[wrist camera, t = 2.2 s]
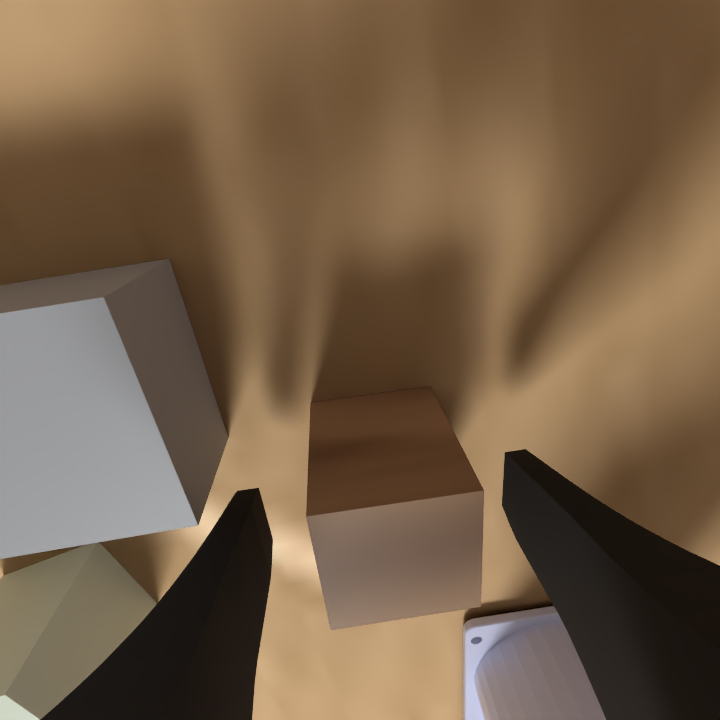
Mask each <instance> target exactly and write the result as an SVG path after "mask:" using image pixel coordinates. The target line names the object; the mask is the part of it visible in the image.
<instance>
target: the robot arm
mask: <svg viewBox="0 0 720 720" xmlns="http://www.w3.org/2000/svg"><path fill="white" fill-rule="evenodd" d="M502 506H503V509H504V511H505V514H506V516H507V519H508V521H509V524H510V526H511V528H512V531H513V533H514V535H515V538H516V539H517V541H518V543H519V545H520V547H521V549H522V550H523V552H524V554H525V556H526V558H527V559H528V561H529V563H530V565H531V566H532V568H533V570H534V572H535V574H536V575H537V577H538V579H539V581H540V582H541V584H542V586H543V588H544V589H545V591H546V593H547V595H548V597H549V598H550V600H551V602H552V604H553V605H554V606H550V607H543V608H537V609H531V610H524V611H518V612H511V613H505V614H499V615H492V616H486V617H480V618H473V619H470V620H468V621H467V622H466V623H465V624H464V626H463V720H720V566H719V565H717V564H715V563H712V562H710V561H708V560H706V559H704V558H702V557H700V556H697V555H695V554H693V553H691V552H689V551H687V550H685V549H683V548H681V547H679V546H677V545H675V544H673V543H671V542H669V541H667V540H665V539H663V538H662V537H660V536H658V535H656V534H654V533H652V532H650V531H649V530H647V529H645V528H643V527H641V526H640V525H638V524H636V523H634V522H633V521H631V520H629V519H627V518H626V517H624V516H623V515H621V514H619V513H618V512H616V511H614V510H613V509H611V508H610V507H608V506H606V505H605V504H603V503H602V502H600V501H599V500H597V499H595V498H594V497H592V496H591V495H589V494H588V493H586V492H585V491H584V490H582V489H581V488H579V487H578V486H576V485H575V484H573V483H572V482H570V481H569V480H568V479H566V478H565V477H563V476H562V475H561V474H559V473H558V472H556V471H555V470H554V469H552V468H551V467H549V466H548V465H547V464H545V463H544V462H543V461H541V460H540V459H538V458H537V457H536V456H534V455H533V454H531V453H530V452H529V451H527V450H526V449H524V450H517V451H510V452H505V461H504V479H503V497H502ZM272 544H273V539H272V535H271V531H270V528H269V524H268V520H267V517H266V513H265V509H264V505H263V502H262V498H261V494H260V491H259V488H255V489H248V490H241V491H237V492H236V493H235V495H234V496H233V498H232V499H231V501H230V502H229V504H228V506H227V507H226V509H225V510H224V512H223V514H222V515H221V517H220V518H219V520H218V521H217V523H216V525H215V526H214V528H213V529H212V531H211V532H210V534H209V535H208V537H207V538H206V539H205V541H204V542H203V544H202V545H201V547H200V548H199V550H198V551H197V553H196V554H195V555H194V557H193V558H192V560H191V561H190V562H189V564H188V565H187V566H186V568H185V569H184V570H183V572H182V573H181V574H180V576H179V577H178V578H177V580H176V581H175V582H174V584H173V585H172V586H171V587H170V589H169V590H168V591H167V592H166V594H165V595H164V596H163V597H162V599H161V600H160V601H159V602H158V603H157V604H156V606H155V607H154V608H153V609H152V610H151V611H150V613H149V614H148V615H147V616H146V617H145V618H144V620H143V621H142V622H141V623H140V624H139V625H138V626H137V627H136V628H135V629H134V630H133V632H132V633H131V634H130V635H129V636H128V637H127V638H126V639H125V640H124V641H123V642H122V643H121V644H120V645H119V646H118V647H117V648H116V649H115V650H114V651H113V652H112V653H111V654H110V655H109V656H108V657H107V659H106V660H105V661H104V662H103V663H102V664H101V665H100V666H99V667H97V668H96V669H95V670H94V671H93V672H92V673H91V674H90V675H89V676H88V677H87V678H86V679H85V680H84V681H83V682H82V683H81V684H80V685H78V686H77V687H76V688H75V689H74V690H73V691H72V692H71V693H70V694H69V695H67V696H66V697H65V698H64V699H63V700H62V701H61V702H60V703H59V704H58V705H56V706H55V707H54V708H53V709H52V710H51V711H50V712H48V713H47V714H46V715H45V716H44V717H43V718H42V719H40V720H252V711H253V697H254V684H255V675H256V667H257V659H258V653H259V647H260V641H261V635H262V629H263V623H264V617H265V610H266V604H267V598H268V592H269V585H270V579H271V567H272Z"/></svg>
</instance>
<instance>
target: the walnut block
mask: <svg viewBox="0 0 720 720" xmlns="http://www.w3.org/2000/svg"><path fill="white" fill-rule="evenodd" d="M483 507H484V490H483V488H482V486H481V484H480V482H479V480H478V478H477V476H476V474H475V472H474V470H473V468H472V466H471V464H470V462H469V460H468V458H467V457H466V455H465V453H464V451H463V449H462V447H461V445H460V443H459V441H458V439H457V437H456V435H455V433H454V431H453V429H452V427H451V425H450V423H449V421H448V419H447V417H446V416H445V414H444V412H443V410H442V408H441V406H440V404H439V402H438V400H437V398H436V396H435V394H434V392H433V390H432V388H431V386H429V387H422V388H414V389H407V390H400V391H392V392H385V393H378V394H370V395H363V396H356V397H348V398H341V399H334V400H326V401H319V402H312V403H311V406H310V433H309V459H308V485H307V512H306V518H307V522H308V527H309V531H310V536H311V541H312V545H313V550H314V555H315V559H316V564H317V569H318V573H319V578H320V582H321V587H322V592H323V596H324V601H325V606H326V610H327V615H328V620H329V624H330V629H331V630H335V629H342V628H348V627H355V626H361V625H367V624H374V623H380V622H386V621H393V620H399V619H406V618H412V617H418V616H425V615H431V614H437V613H444V612H450V611H456V610H463V609H469V608H476V607H481V584H482V545H483Z"/></svg>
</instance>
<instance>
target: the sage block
mask: <svg viewBox="0 0 720 720" xmlns="http://www.w3.org/2000/svg"><path fill="white" fill-rule="evenodd" d="M156 604H157V603H156V602H155V601H154V599H153V598H152V597H151V596H150V595H149V594H148V593H147V592H146V591H145V590H144V589H143V588H142V587H141V586H140V585H139V584H138V583H137V582H136V580H135V579H134V578H133V577H132V576H131V575H130V574H129V573H128V572H127V571H126V570H125V569H124V568H123V567H122V566H121V565H120V564H119V563H118V562H117V560H116V559H115V558H114V557H113V556H112V555H111V554H110V553H109V552H108V551H107V550H106V549H105V548H104V547H103V546H102V545H101V544H100V543H99V542H98V543H92V544H87V545H84V546H81V547H78V548H76V549H73V550H70V551H68V552H65V553H62V554H60V555H57V556H54V557H52V558H49V559H46V560H44V561H41V562H38V563H35V564H33V565H30V566H27V567H25V568H22V569H19V570H17V571H14V572H11V573H9V574H6V575H3V577H2V578H1V579H0V720H40V719H42V718H43V717H44V716H45V715H46V714H47V713H48V712H50V711H51V710H52V709H53V708H54V707H55V706H56V705H58V704H59V703H60V702H61V701H62V700H63V699H64V698H65V697H66V696H67V695H69V694H70V693H71V692H72V691H73V690H74V689H75V688H76V687H77V686H78V685H80V684H81V683H82V682H83V681H84V680H85V679H86V678H87V677H88V676H89V675H90V674H91V673H92V672H93V671H94V670H95V669H96V668H97V667H99V666H100V665H101V664H102V663H103V662H104V661H105V660H106V659H107V657H108V656H109V655H110V654H111V653H112V652H113V651H114V650H115V649H116V648H117V647H118V646H119V645H120V644H121V643H122V642H123V641H124V640H125V639H126V638H127V637H128V636H129V635H130V634H131V633H132V632H133V630H134V629H135V628H136V627H137V626H138V625H139V624H140V623H141V622H142V621H143V620H144V618H145V617H146V616H147V615H148V614H149V613H150V611H151V610H152V609H153V608H154V607H155V606H156Z"/></svg>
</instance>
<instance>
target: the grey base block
mask: <svg viewBox="0 0 720 720" xmlns="http://www.w3.org/2000/svg"><path fill="white" fill-rule="evenodd" d="M227 440H228V435H227V432H226V429H225V426H224V423H223V420H222V417H221V413H220V410H219V407H218V404H217V401H216V398H215V395H214V392H213V389H212V386H211V383H210V380H209V377H208V374H207V371H206V368H205V365H204V362H203V359H202V356H201V353H200V350H199V347H198V344H197V341H196V338H195V335H194V332H193V329H192V326H191V323H190V320H189V317H188V314H187V311H186V308H185V305H184V302H183V299H182V296H181V293H180V290H179V287H178V284H177V281H176V278H175V275H174V272H173V269H172V266H171V263H170V260H169V259H164V260H157V261H151V262H144V263H138V264H132V265H125V266H119V267H112V268H106V269H100V270H93V271H87V272H80V273H74V274H68V275H61V276H55V277H48V278H42V279H36V280H29V281H23V282H17V283H10V284H4V285H0V559H4V558H10V557H15V556H21V555H27V554H33V553H39V552H45V551H51V550H57V549H63V548H68V547H74V546H80V545H86V544H92V543H98V542H104V541H110V540H116V539H121V538H127V537H133V536H139V535H145V534H151V533H157V532H163V531H169V530H175V529H180V528H186V527H192V526H198V524H199V521H200V519H201V516H202V513H203V510H204V507H205V504H206V501H207V498H208V495H209V492H210V489H211V487H212V484H213V481H214V478H215V475H216V472H217V469H218V466H219V463H220V460H221V457H222V455H223V452H224V449H225V446H226V443H227Z"/></svg>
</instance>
